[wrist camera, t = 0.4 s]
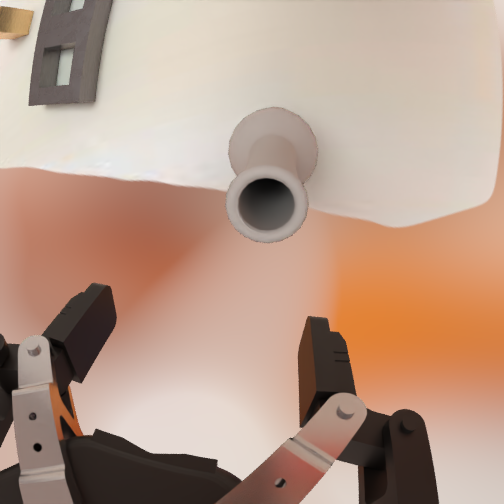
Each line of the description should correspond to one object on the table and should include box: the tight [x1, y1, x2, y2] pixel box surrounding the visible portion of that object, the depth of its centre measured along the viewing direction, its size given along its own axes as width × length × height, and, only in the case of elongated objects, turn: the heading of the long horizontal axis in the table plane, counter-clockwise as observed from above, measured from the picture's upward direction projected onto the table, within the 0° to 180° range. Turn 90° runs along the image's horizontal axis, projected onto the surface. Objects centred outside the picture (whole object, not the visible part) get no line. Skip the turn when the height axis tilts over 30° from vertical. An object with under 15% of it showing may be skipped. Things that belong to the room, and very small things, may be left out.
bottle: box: [225, 107, 318, 243], centre depth 22 cm, size 7×7×28 cm
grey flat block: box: [29, 0, 113, 106], centre depth 27 cm, size 22×10×4 cm, turn 170°
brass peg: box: [0, 6, 34, 39], centre depth 23 cm, size 4×4×8 cm
